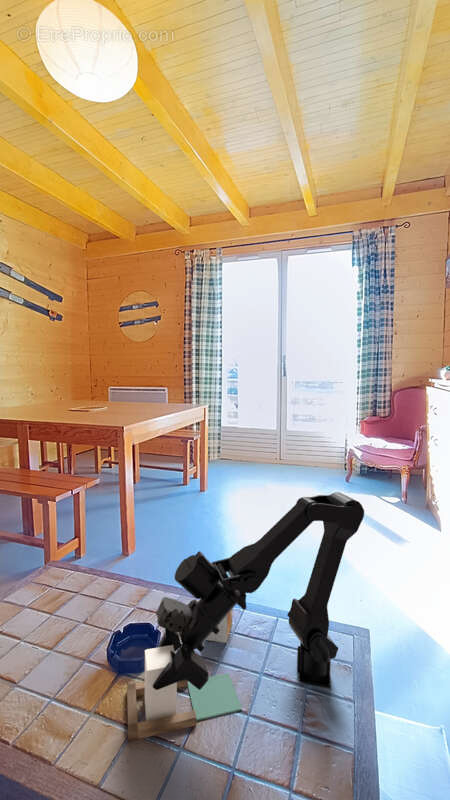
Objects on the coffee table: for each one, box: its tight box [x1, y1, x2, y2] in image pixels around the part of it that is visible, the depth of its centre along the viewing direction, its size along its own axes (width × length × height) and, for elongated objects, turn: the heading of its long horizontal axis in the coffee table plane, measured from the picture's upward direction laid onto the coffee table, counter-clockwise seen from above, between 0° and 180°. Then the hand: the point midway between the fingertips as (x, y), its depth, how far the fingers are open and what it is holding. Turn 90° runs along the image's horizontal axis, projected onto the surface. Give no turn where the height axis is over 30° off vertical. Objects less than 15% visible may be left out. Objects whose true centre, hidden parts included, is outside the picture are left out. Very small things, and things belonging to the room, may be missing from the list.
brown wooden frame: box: [126, 680, 197, 742], centre depth 71 cm, size 12×11×2 cm
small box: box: [205, 608, 234, 644], centre depth 93 cm, size 8×6×10 cm
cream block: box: [143, 645, 178, 721], centre depth 70 cm, size 6×6×10 cm
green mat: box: [187, 672, 243, 722], centre depth 73 cm, size 9×9×1 cm
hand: (153, 675), depth 70 cm, fingers closed on cream block, 5 cm apart
